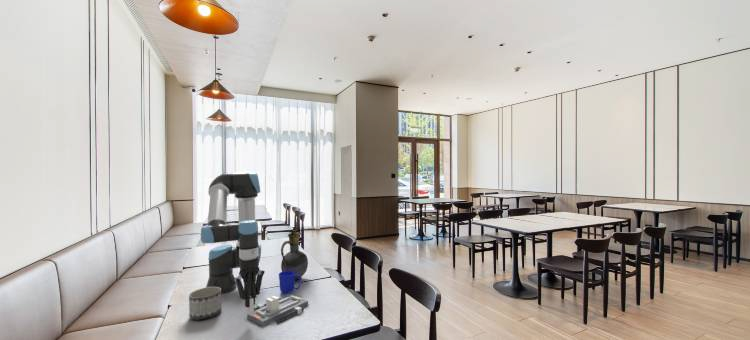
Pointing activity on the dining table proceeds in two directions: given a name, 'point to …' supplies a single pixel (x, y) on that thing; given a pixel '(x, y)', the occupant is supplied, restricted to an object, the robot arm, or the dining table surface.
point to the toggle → (272, 303)
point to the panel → (285, 307)
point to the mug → (288, 281)
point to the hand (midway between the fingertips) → (250, 313)
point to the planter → (205, 303)
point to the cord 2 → (290, 314)
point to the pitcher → (294, 256)
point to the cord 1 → (261, 306)
